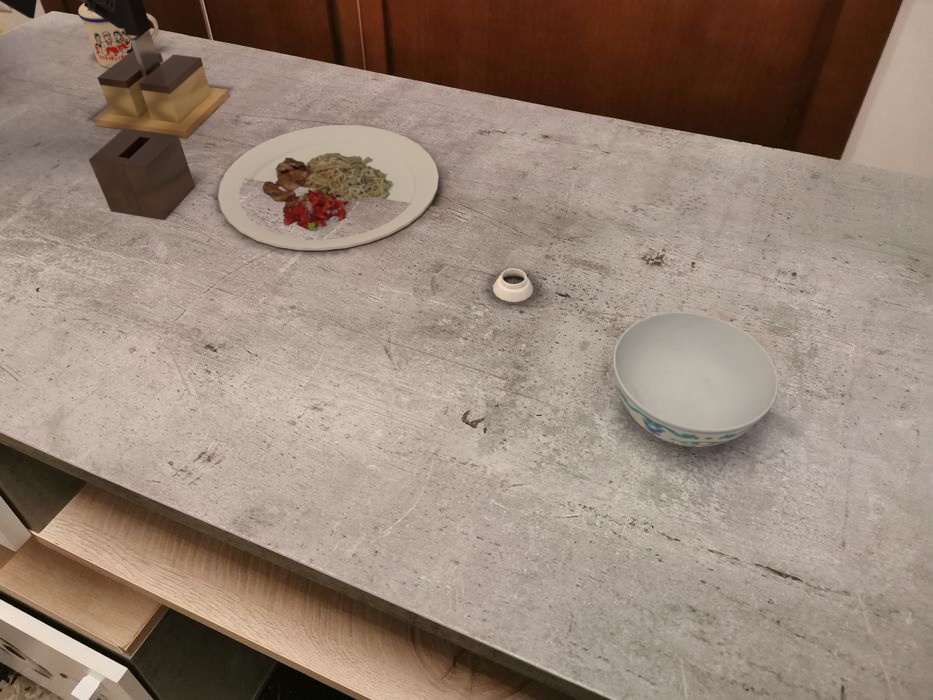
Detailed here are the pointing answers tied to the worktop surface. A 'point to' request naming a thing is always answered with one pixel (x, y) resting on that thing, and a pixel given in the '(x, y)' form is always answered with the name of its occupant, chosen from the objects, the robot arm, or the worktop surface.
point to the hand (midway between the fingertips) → (77, 13)
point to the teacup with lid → (108, 37)
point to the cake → (158, 96)
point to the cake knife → (140, 36)
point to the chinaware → (693, 378)
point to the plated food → (331, 181)
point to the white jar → (513, 286)
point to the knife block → (143, 173)
